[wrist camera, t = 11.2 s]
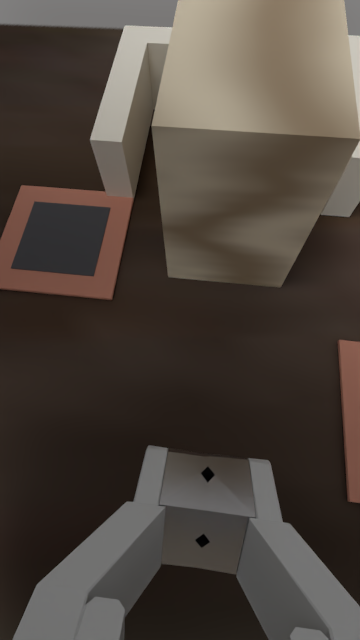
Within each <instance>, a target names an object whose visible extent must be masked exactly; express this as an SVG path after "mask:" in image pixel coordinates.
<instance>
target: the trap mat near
mask: <svg viewBox="0 0 360 640" xmlns="http://www.w3.org/2000/svg"><path fill="white" fill-rule="evenodd" d="M338 355H339V371H340V387H341V403H342V418H343V434H344V450H345V466H346V482H347V498H348V501H349V502H356V503H360V342H356V341H346V340H338Z"/></svg>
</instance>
